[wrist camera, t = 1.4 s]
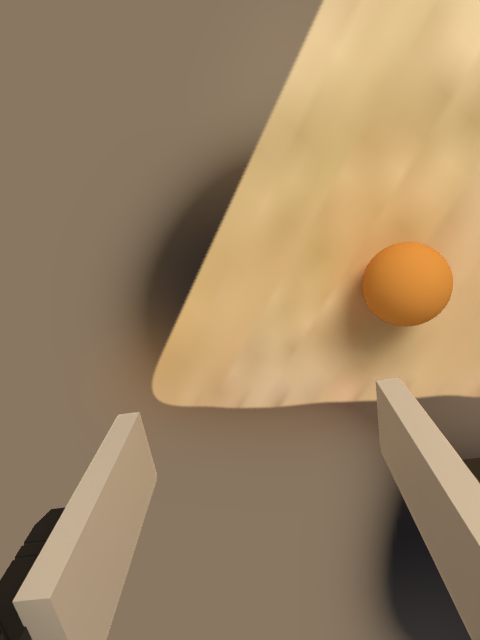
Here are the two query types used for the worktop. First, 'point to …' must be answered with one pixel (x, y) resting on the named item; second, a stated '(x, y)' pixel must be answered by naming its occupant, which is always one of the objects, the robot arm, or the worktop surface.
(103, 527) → the robot arm
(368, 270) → the ball
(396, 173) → the worktop surface
